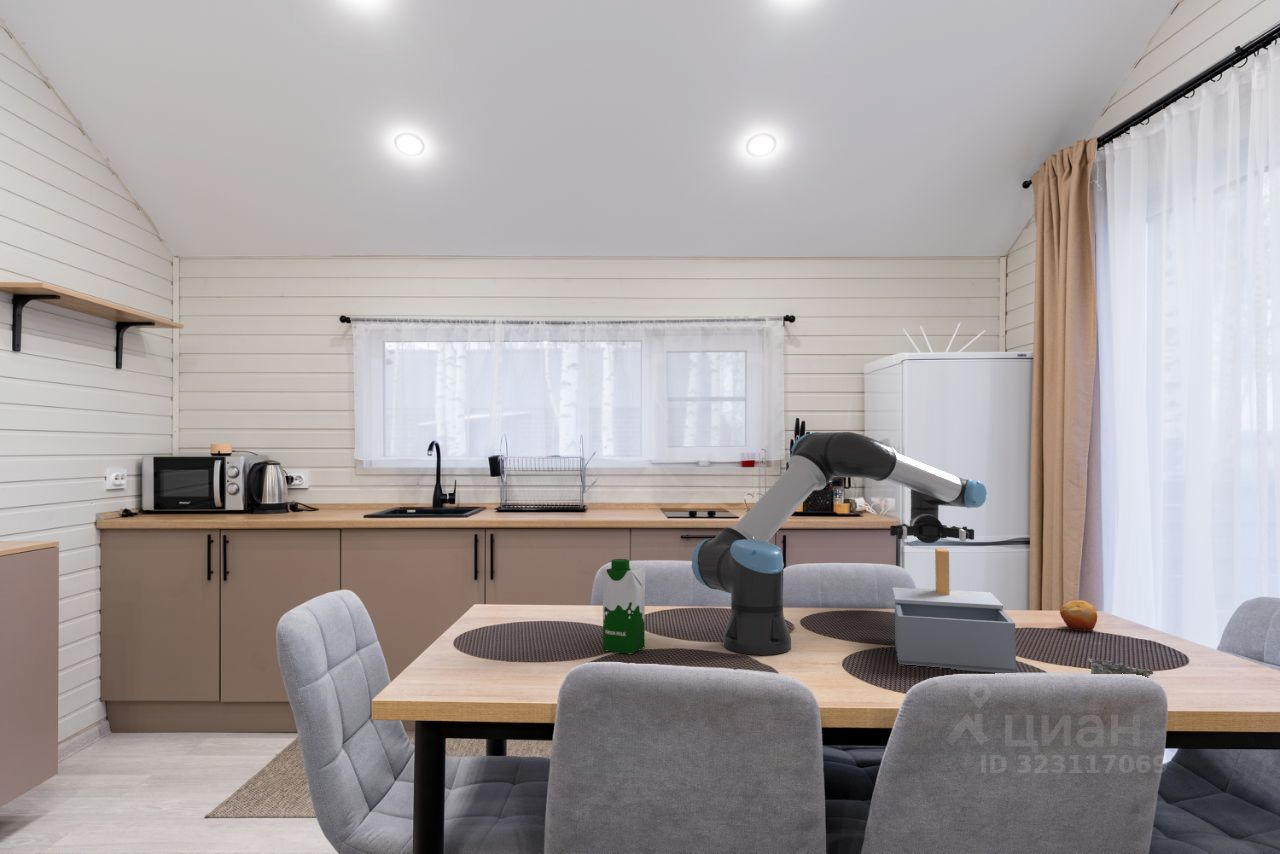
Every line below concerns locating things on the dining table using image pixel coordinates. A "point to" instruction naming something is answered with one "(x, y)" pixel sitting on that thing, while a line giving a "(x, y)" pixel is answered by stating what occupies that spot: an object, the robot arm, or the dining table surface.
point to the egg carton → (1115, 668)
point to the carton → (955, 637)
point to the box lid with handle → (945, 590)
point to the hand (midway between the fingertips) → (934, 535)
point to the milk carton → (623, 607)
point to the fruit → (1079, 615)
